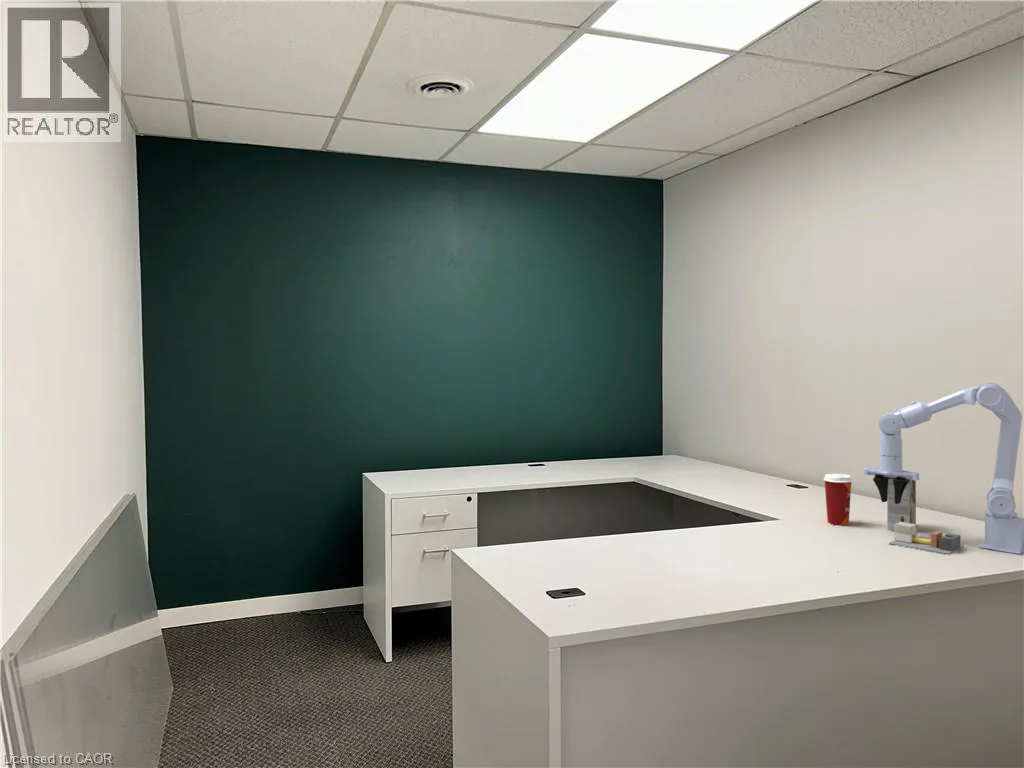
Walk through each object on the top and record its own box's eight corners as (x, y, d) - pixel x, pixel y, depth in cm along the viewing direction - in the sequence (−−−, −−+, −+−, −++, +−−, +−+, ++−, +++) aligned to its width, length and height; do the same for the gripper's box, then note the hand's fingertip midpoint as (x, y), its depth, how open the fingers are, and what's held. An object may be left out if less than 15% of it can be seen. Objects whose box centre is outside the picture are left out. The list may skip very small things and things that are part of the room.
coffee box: (892, 523, 228) (892, 471, 227) (916, 526, 224) (916, 473, 223) (886, 530, 220) (886, 476, 220) (910, 533, 216) (911, 478, 216)
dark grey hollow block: (960, 547, 199) (960, 535, 199) (951, 551, 195) (951, 539, 195) (944, 544, 202) (944, 532, 202) (935, 548, 198) (935, 536, 198)
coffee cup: (857, 526, 226) (857, 477, 225) (830, 527, 226) (829, 478, 225) (845, 520, 234) (845, 472, 233) (819, 520, 234) (819, 473, 233)
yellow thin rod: (944, 546, 200) (944, 541, 200) (942, 547, 199) (942, 542, 199) (895, 538, 210) (895, 533, 209) (893, 539, 209) (893, 534, 209)
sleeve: (917, 539, 207) (917, 524, 206) (910, 542, 204) (910, 526, 204) (900, 537, 210) (900, 521, 210) (894, 539, 207) (894, 524, 207)
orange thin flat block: (942, 545, 201) (942, 531, 201) (936, 547, 199) (936, 534, 199) (936, 544, 203) (936, 531, 202) (930, 546, 200) (930, 533, 200)
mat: (963, 546, 201) (963, 545, 201) (948, 554, 194) (948, 553, 194) (905, 537, 212) (905, 535, 212) (888, 544, 205) (888, 542, 205)
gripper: (858, 454, 215) (859, 501, 215) (911, 459, 204) (911, 508, 204) (870, 451, 219) (870, 497, 220) (922, 456, 208) (922, 504, 209)
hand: (891, 502), depth 212 cm, fingers open, 3 cm apart
